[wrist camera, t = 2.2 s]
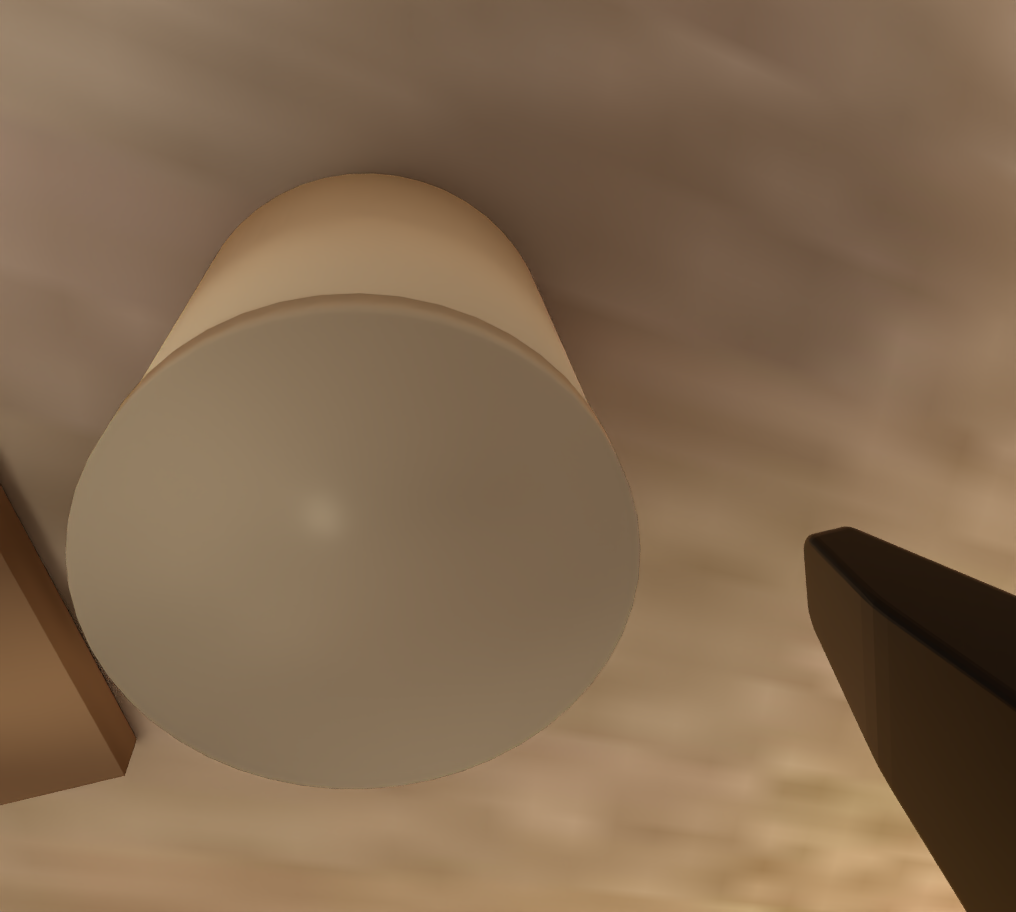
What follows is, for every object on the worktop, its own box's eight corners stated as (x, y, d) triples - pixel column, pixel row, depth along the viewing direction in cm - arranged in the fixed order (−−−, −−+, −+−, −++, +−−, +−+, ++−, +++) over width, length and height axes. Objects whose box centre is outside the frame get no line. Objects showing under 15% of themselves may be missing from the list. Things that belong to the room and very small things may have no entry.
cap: (576, 461, 18) (672, 722, 12) (260, 536, 18) (190, 837, 12) (509, 129, 15) (590, 246, 9) (134, 219, 15) (-44, 397, 9)
